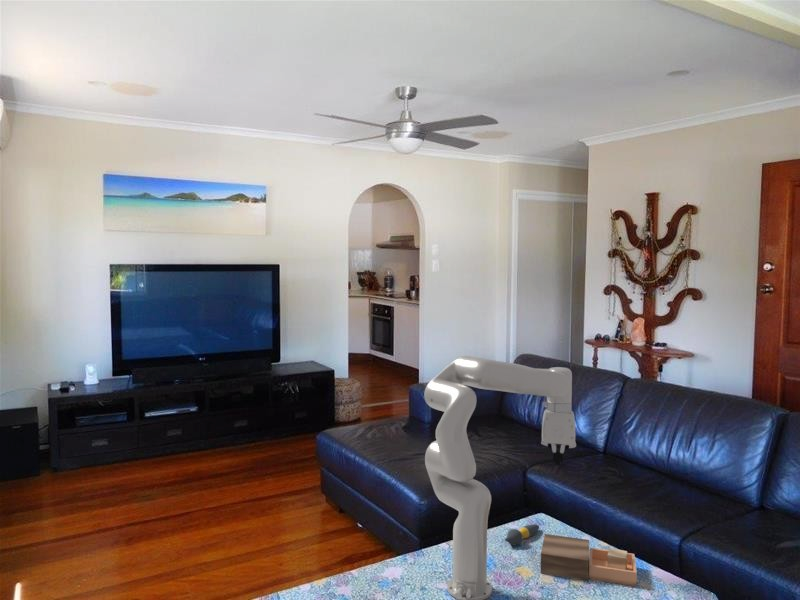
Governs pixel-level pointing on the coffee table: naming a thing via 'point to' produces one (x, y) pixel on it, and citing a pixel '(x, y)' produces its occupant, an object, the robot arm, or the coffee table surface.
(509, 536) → the paintbrush
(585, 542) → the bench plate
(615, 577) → the tray
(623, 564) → the beech block
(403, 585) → the coffee table surface
